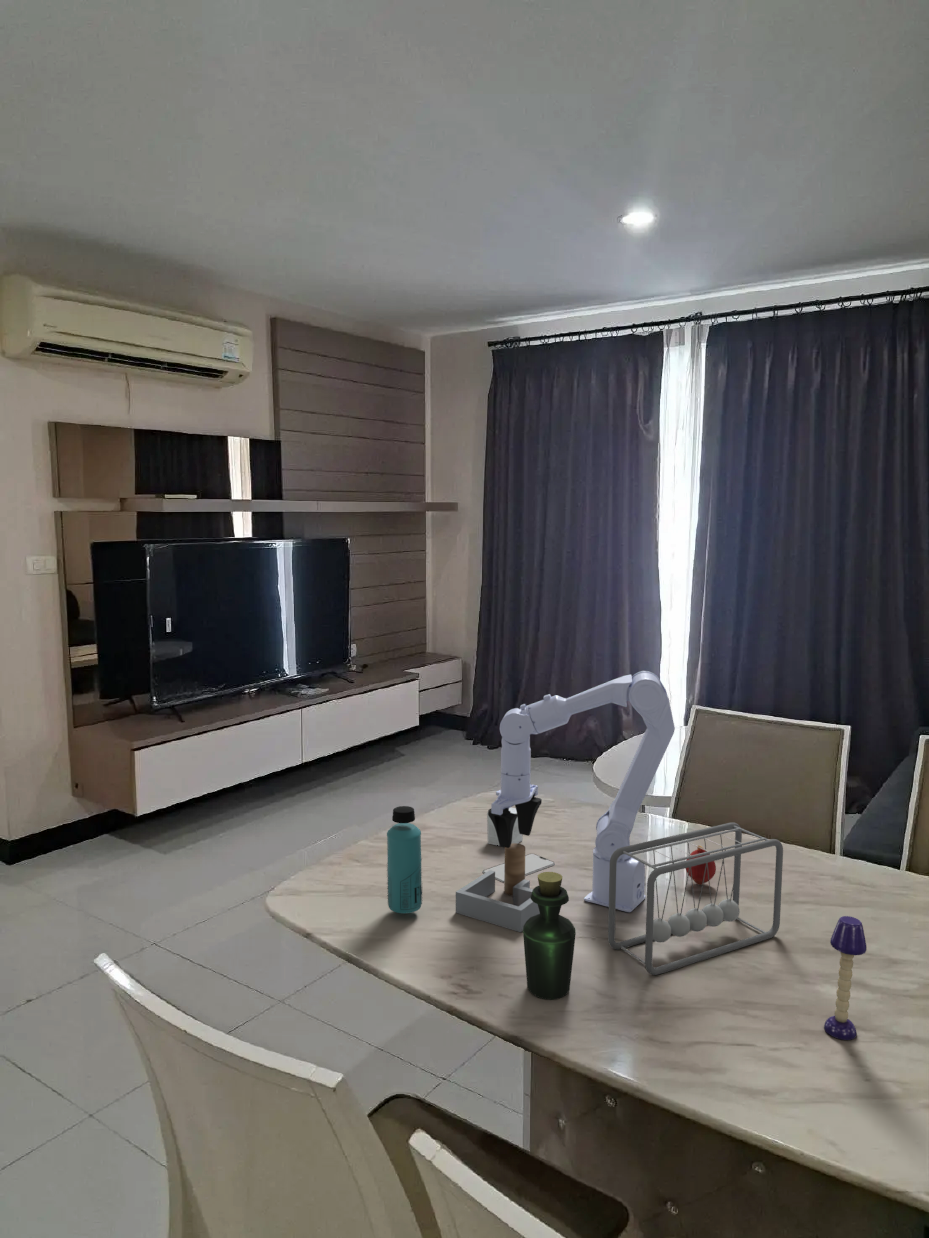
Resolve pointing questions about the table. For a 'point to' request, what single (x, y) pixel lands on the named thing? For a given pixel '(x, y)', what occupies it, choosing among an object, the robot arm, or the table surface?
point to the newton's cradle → (694, 917)
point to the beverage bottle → (404, 862)
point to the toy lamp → (845, 974)
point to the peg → (514, 867)
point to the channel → (496, 903)
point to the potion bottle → (549, 940)
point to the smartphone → (531, 866)
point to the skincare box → (493, 835)
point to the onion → (701, 868)
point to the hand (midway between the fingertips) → (515, 840)
